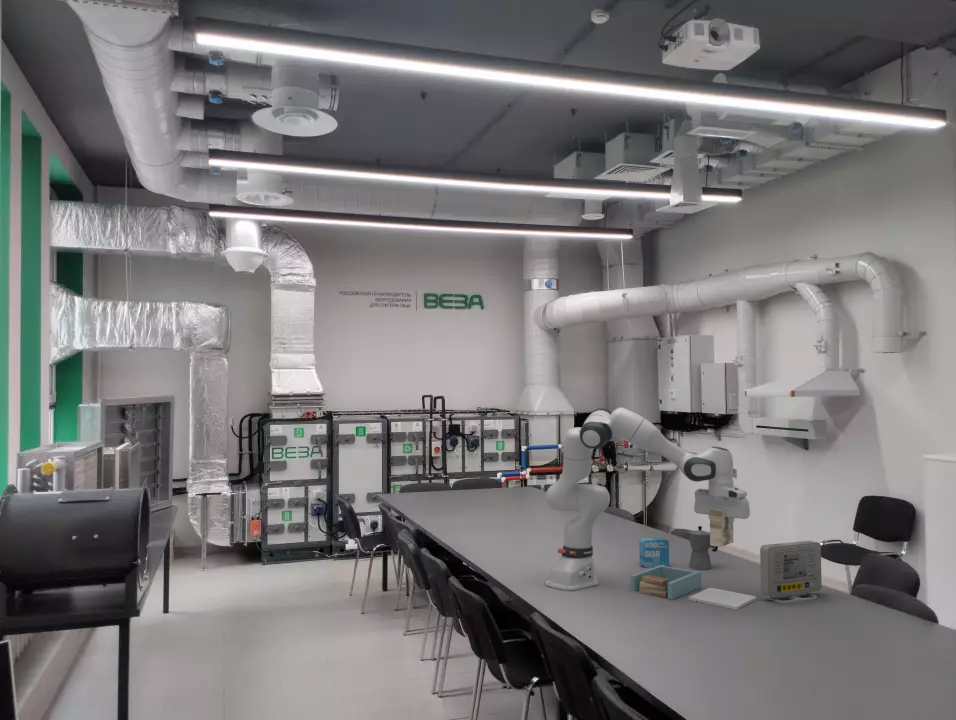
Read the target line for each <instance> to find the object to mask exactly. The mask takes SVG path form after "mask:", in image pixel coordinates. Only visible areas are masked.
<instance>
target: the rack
mask: <svg viewBox="0 0 956 720" xmlns="http://www.w3.org/2000/svg"><path fill="white" fill-rule="evenodd" d="M701 574H702V572H701V571H700V570H694V571H693V570H689V569H688V570H687V569H682V568H677V567H671V566H665V565H659V566H657V567H654V568H647V569H645V570H643V571H639V572H638V573H634V574H632V575H630V592H632V591H636V592H638V591H637V590H639V587H640V582H641V581H642V577H643V576H646V575H652V576H657V577H661V578H666V579H669V583H668V597H667V600H669V599H671V600H670V601H673V600H675V599H677V597H678V598H680V597H682V596H684V595H687V594H689V593H691V592H693V590H694V591H695V589H696V590H698V589H700V588H701V587H702V575H701ZM699 587H700V588H699ZM697 588H698V589H697ZM690 591H691V592H690ZM688 592H689V593H688ZM686 593H687V594H686ZM681 595H682V596H681ZM679 596H680V597H679ZM674 598H675V599H674ZM672 599H673V600H672Z"/></svg>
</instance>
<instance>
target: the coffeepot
mask: <svg viewBox="0 0 956 720" xmlns="http://www.w3.org/2000/svg"><path fill="white" fill-rule="evenodd" d="M697 528H698V530H691V531H686V532H684V535H685V536H686V537H687V539H688V541H689V542H690V543H689V544H690V548H691V549H692V550H691V554H690V560H689V568H690V567H691V569H693V570H695V571H708V570H709V571H710V570H711V569H712V563H711V558H710V553H709V549H710V546H711V545H710V531H705V530H702V529H703V526H701V525H698V526H697ZM718 550H719V547H717V546H714V548H713V549H711V551H712V552H715V553H716V552H717V551H718Z"/></svg>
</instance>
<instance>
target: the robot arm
mask: <svg viewBox="0 0 956 720" xmlns="http://www.w3.org/2000/svg"><path fill="white" fill-rule="evenodd" d="M614 436H615V437H616V436H617V437H619V438H621V439H623V440H624V441H626V442H628V443H629V444H631V445H632V446H634V447H636V448H638V449H641V450H643V451H646V452H647V451H649V452H653V453H656V454H659V455H661V456H663V458H666V459H667V460H669V461H670V462H672V463H673V464H675V465H676V466H677V467H678V468H679V470H680V471H681V473H682V474H683V475H684V477H686V478H687V479H688V480H689V481H692V482H694V483H695V482H696V483H697V482H704V481H708V489H705V488H698V489H696V490H695V492H694V503H693V504H694V505H693V508H694V509H693V510H694V512H695V513H696V514H699V515H707V516H708V520H710V509H723V510H724V515H725V517H728V520H730V521H729V523H728V524H726V529H728V530H731V528H732V527H731V524H732V523H733V524H734V521H735V519H741V520H745V519H749V517H750V514H751V511H750V502H749V500H748V499H747V498H746V497H747V496H748V492H747V491H746V490H743V489H742V488H739V487H737V486H735V485H734V480H733V474H734V461H733V460H734V459H733V454H732V452H731V451H730V450H729V449H727V448H725V447H720V446H710V447H709V448H708V449H706V450H704V451H702V452H700V453H697V452H692V451H691V452H690V451H687V450H685V449H683V448H682V447H679V446H678V445H677V444H675V443H673V442H672V441H670V440H669V439H668V438H666V437H665V436H664V435H663V434H662V432H661V430H660V429H659V428H657V426H655V424H653V423H652V422H651V421H649V420H648V419H646V418H645V417H644V416H642V415H640V414H638V413H636V412H634V411H631V410H630V409H627V408H625V407H617V408H616V409H614V410H613V411H610V410H609V409H607V408H605V407H603V408H602V407H601V408H597V409H594V410H593V411H592V412H591V413H590V414H589V415H588V416H587V418H586V419H585V420H584V422H583V425H582V426H581V427H578V426H577V427H571V428H569V429H568V430H567V431H566V433H565V436H564V440H563V451H562V452H563V466H562V472H561V475H560V477H559V478H558V479H557V481H556V482H555V483H553V484H552V485H550V486H548V489H547V490H546V493H545V499H546V501H545V502H546V504H547V505H548V507H549V508H550V509H551V510H555V511H561V512H578V513H579V516H577V517H576V518H574V519H572V520H570V521H568V522H567V523H566V524H565V526H564V528H563V532H564V533H563V534H564V535H563V537H564V538H563V539H564V541H563V546H562V548H560V547H558V549H557V553H558V554H560V555H561V556H560V558H559V559H558V560H557V562H556V563H555V564H554V566H553V567H552V568H551V571H550V578H549V579H548V580H546V581H545V582H544V586H546V587H549V588H553V589H557V590H563V591H578V590H580V589H581V590H583V589H586V588H590V587H596V586H599V581H598V580H597V575H596V574H597V572H596V564H595V562H594V560H593V555H594V547H593V545H592V541H593V540H592V539H593V538H592V537H593V528H594V524H595V521H596V520H597V519H598V516H600V514H602V513H603V512H604V511H605V510H606V509H608V507H609V505H610V501H611V495H610V492H609V491H608V490H609V489H607V488H606V487H605V486H602V485H599V484H586V483H581V484H580V483H579V482H581V481H583V480H585V479H586V478H588V477H589V475H590V474H591V472H592V450H595V449H599V448H601V447H603V446H604V445H605V444H606V443H608V442H609V441H611V440H612V439H613V437H614Z"/></svg>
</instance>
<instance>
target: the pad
mask: <svg viewBox="0 0 956 720" xmlns="http://www.w3.org/2000/svg"><path fill="white" fill-rule="evenodd" d="M691 600H694V601H693V602H696V601H698V602H697V603H701V602H704V603H703V604H706V603H708V604H707V605H710V604H713V605H712V606H715V605H716V606H717V607H720V608H725V609H729V608H730V610H734V611H735V610H736V611H737V610H740V609H741V608H743V607H745V606H746V605H749V604H751V603H752V602H754V601H756V600H757V596H755V595H751V594H745V593H740V592H735V591H729V590H725V589H721V588H720V589H719V588H714V587H708V588H706V589H704V590H702V591H700V592H699V591H698V592H696V593H695V594H692V595H690V596H689V597H688V601H691Z"/></svg>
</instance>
